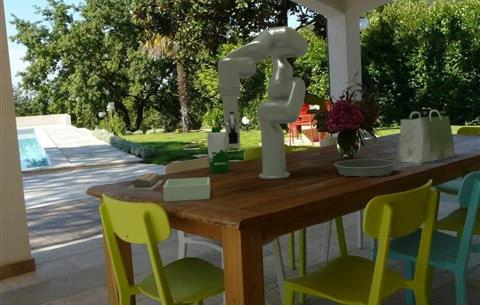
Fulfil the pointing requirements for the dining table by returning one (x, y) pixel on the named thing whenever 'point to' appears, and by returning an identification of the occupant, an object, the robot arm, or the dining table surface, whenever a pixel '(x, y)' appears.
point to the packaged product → (145, 182)
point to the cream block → (228, 137)
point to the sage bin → (186, 189)
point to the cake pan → (365, 167)
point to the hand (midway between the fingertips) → (233, 142)
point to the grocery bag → (425, 139)
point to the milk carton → (217, 151)
